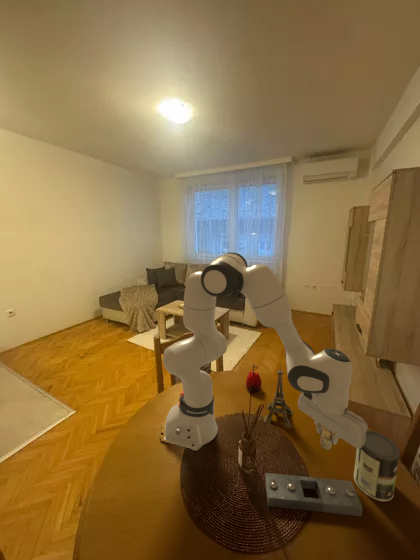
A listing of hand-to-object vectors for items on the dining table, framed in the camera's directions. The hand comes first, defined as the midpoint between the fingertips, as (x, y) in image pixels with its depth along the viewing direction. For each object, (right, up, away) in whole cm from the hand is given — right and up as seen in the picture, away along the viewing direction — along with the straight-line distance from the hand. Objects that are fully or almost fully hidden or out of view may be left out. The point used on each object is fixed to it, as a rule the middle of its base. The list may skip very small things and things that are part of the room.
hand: (326, 437), depth 77 cm
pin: (0, -3, +1) cm, 3 cm away
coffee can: (+12, -12, -4) cm, 17 cm away
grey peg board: (-9, -12, -8) cm, 17 cm away
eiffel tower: (-9, -7, +23) cm, 26 cm away
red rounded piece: (-16, -3, +41) cm, 44 cm away
